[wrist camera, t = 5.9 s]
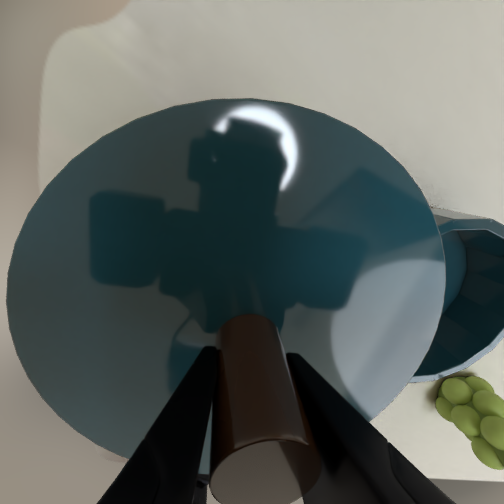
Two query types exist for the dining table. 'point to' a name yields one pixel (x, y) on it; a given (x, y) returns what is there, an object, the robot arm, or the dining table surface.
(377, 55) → the dining table surface
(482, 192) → the dining table surface
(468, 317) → the teal round bowl
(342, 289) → the lid
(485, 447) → the grapes
